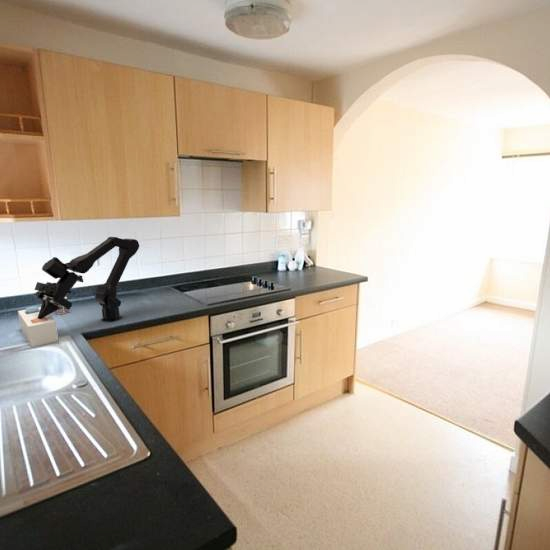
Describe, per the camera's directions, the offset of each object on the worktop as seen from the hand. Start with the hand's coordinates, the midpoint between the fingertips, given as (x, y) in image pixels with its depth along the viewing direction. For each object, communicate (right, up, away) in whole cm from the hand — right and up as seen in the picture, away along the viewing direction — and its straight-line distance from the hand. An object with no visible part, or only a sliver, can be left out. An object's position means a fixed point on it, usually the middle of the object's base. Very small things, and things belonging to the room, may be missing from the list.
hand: (38, 318), depth 143 cm
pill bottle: (-12, -2, +36) cm, 38 cm away
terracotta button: (0, -3, +1) cm, 3 cm away
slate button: (-10, +1, +11) cm, 15 cm away
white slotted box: (-5, -7, +7) cm, 12 cm away
